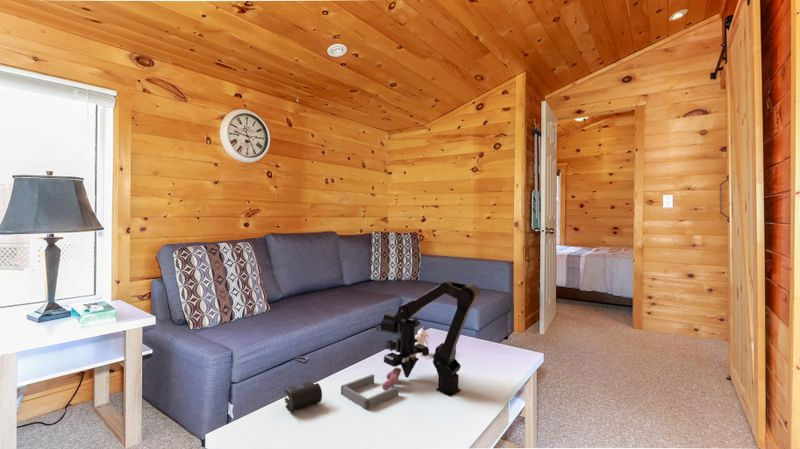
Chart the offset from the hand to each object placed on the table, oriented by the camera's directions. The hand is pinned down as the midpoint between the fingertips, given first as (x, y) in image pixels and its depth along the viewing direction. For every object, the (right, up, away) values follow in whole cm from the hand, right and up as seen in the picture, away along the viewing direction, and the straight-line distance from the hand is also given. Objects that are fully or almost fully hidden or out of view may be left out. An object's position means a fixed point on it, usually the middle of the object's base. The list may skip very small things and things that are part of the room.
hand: (406, 377), depth 144 cm
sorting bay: (-13, -1, -12) cm, 18 cm away
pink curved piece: (-5, -1, -4) cm, 7 cm away
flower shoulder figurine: (+7, -1, +26) cm, 27 cm away
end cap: (-34, -2, -21) cm, 40 cm away
